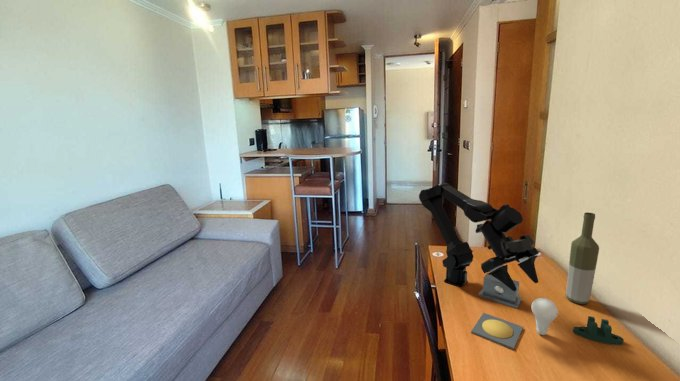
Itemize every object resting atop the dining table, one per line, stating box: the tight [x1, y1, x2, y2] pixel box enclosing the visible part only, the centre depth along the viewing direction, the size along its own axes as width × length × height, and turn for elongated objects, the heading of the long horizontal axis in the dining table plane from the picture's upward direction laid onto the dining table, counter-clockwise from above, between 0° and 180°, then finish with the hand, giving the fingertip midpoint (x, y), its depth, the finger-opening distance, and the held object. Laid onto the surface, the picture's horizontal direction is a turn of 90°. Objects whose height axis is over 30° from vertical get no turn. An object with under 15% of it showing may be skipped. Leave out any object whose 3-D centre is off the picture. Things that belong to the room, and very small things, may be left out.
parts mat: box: [470, 312, 524, 351], centre depth 90 cm, size 11×11×1 cm
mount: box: [572, 316, 624, 346], centre depth 86 cm, size 11×4×5 cm, turn 62°
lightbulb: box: [530, 297, 559, 336], centre depth 87 cm, size 6×6×11 cm
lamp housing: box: [478, 272, 523, 309], centre depth 105 cm, size 12×6×7 cm, turn 49°
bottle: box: [565, 211, 600, 305], centre depth 100 cm, size 7×7×30 cm
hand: (526, 286), depth 91 cm, fingers open, 9 cm apart
